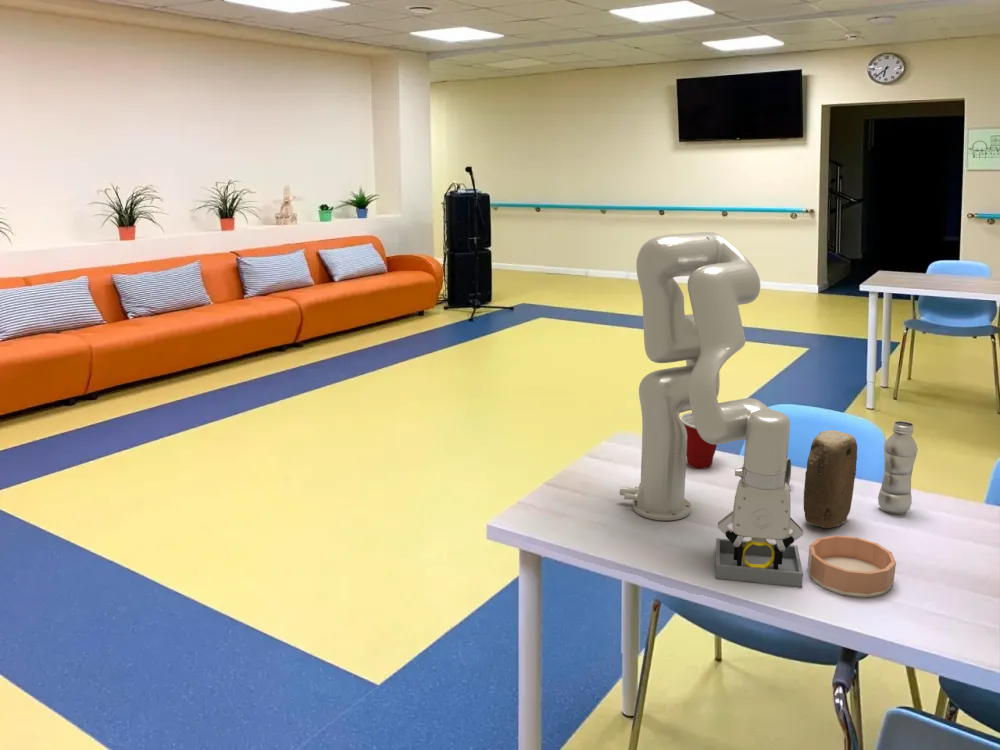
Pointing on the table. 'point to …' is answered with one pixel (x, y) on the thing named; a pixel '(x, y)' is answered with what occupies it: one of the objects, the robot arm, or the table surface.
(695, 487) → the table surface
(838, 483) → the stone
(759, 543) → the watch
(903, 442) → the plastic bottle
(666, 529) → the table surface
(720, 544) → the parts tray
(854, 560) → the bowl
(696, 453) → the plastic cup
